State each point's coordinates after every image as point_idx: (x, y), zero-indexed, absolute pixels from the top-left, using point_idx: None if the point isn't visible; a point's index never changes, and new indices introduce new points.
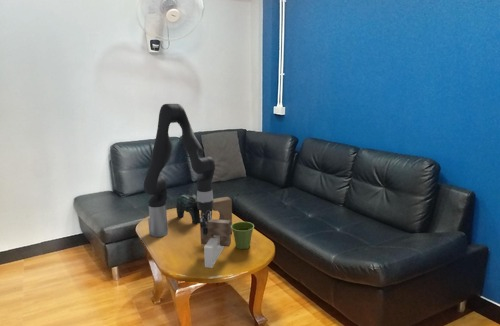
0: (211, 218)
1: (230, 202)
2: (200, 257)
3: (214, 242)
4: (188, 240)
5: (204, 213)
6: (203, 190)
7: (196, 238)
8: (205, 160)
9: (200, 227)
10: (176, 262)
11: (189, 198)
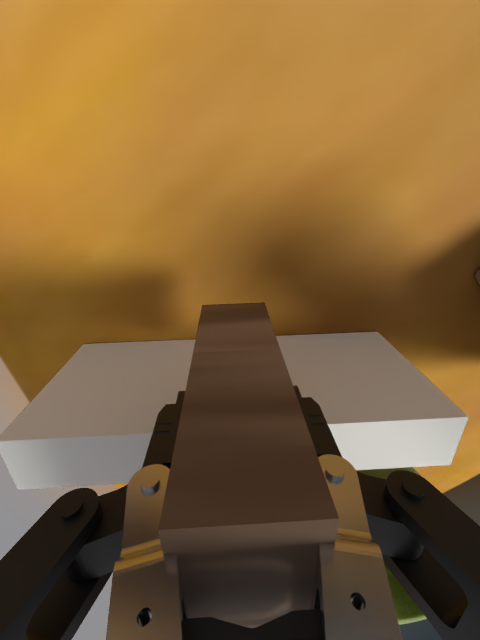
0: (418, 559)
1: None
2: (178, 280)
3: (117, 480)
4: (428, 69)
5: None
6: None
7: (461, 135)
8: None
9: (181, 417)
10: (52, 131)
11: None
